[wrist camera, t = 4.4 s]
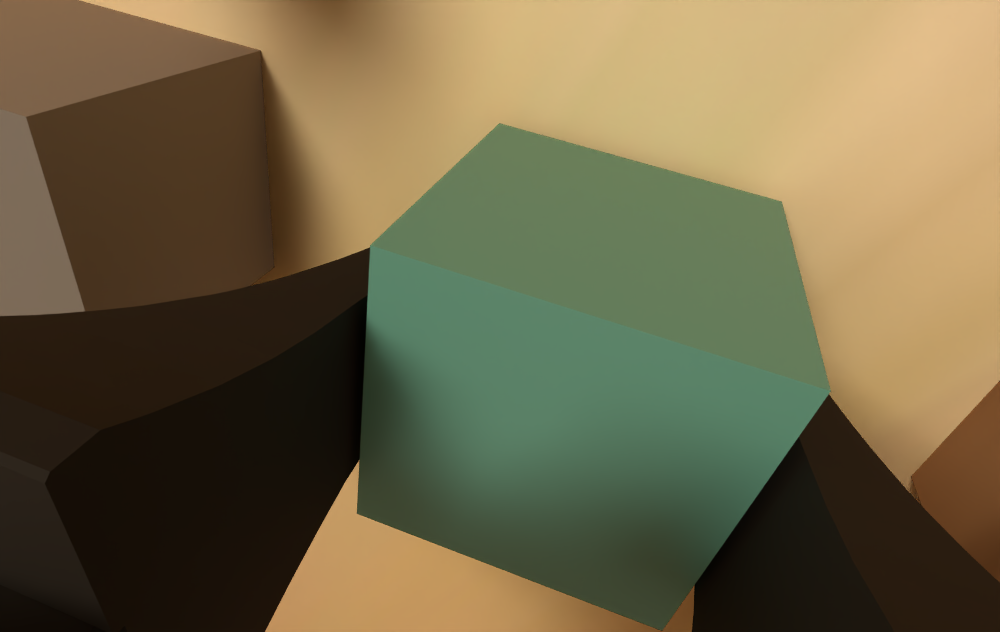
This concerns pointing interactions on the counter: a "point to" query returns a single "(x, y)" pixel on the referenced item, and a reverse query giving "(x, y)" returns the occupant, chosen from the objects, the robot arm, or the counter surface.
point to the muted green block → (582, 368)
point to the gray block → (126, 161)
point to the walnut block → (968, 483)
